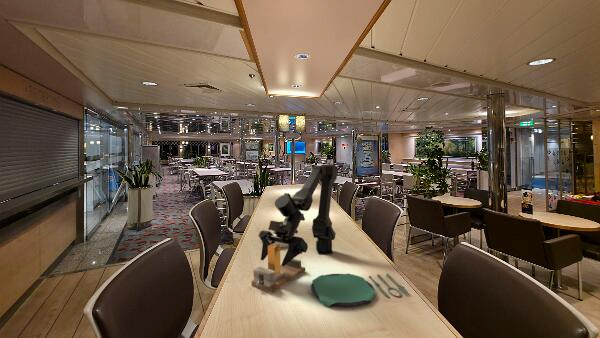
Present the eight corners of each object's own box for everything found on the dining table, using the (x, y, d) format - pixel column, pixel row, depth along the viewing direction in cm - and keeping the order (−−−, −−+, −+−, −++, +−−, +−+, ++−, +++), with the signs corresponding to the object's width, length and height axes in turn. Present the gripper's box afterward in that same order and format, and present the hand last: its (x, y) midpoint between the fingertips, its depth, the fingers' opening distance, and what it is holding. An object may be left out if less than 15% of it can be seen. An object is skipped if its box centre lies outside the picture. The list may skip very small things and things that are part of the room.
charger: (257, 244, 135) (287, 241, 139) (260, 250, 126) (292, 247, 130) (257, 234, 135) (287, 232, 139) (260, 240, 126) (291, 237, 130)
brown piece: (286, 266, 107) (285, 252, 107) (305, 271, 102) (305, 256, 102) (251, 285, 91) (251, 268, 91) (272, 292, 86) (271, 275, 86)
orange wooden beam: (273, 272, 98) (273, 242, 97) (284, 275, 95) (284, 244, 94) (251, 284, 88) (250, 251, 88) (262, 288, 86) (261, 254, 85)
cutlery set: (305, 280, 95) (305, 274, 95) (387, 275, 99) (387, 269, 99) (318, 313, 75) (318, 305, 75) (419, 305, 80) (419, 297, 80)
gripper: (261, 208, 102) (239, 246, 93) (303, 214, 91) (283, 256, 83) (275, 225, 109) (256, 261, 100) (315, 232, 98) (298, 273, 90)
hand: (271, 262), depth 93 cm, fingers open, 9 cm apart
